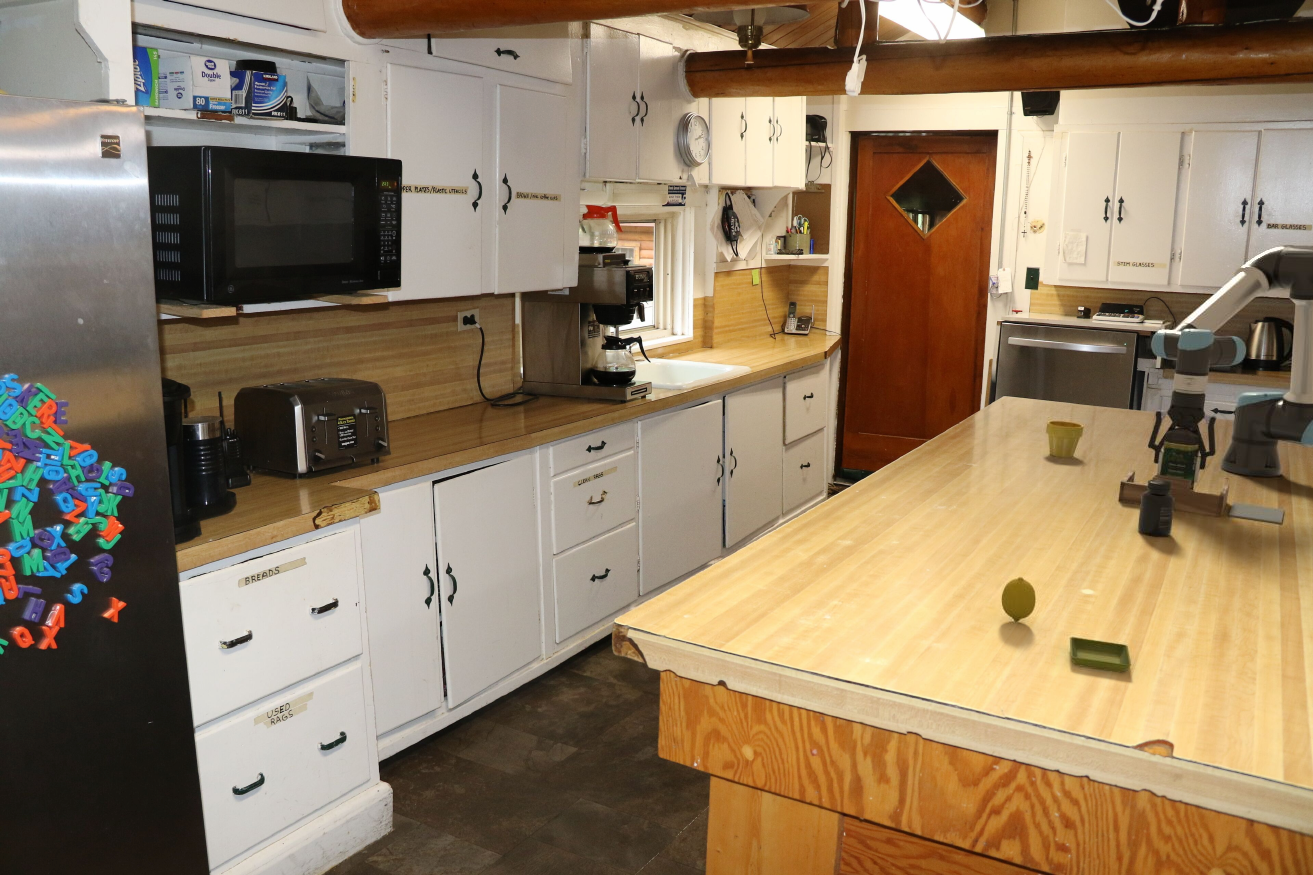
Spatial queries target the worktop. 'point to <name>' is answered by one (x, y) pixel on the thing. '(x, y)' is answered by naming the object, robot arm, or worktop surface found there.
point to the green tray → (1099, 654)
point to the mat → (1257, 513)
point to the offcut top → (1175, 482)
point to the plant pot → (1063, 437)
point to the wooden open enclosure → (1177, 497)
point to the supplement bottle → (1156, 509)
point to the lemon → (1018, 599)
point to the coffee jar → (1180, 454)
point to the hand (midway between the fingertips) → (1177, 478)
